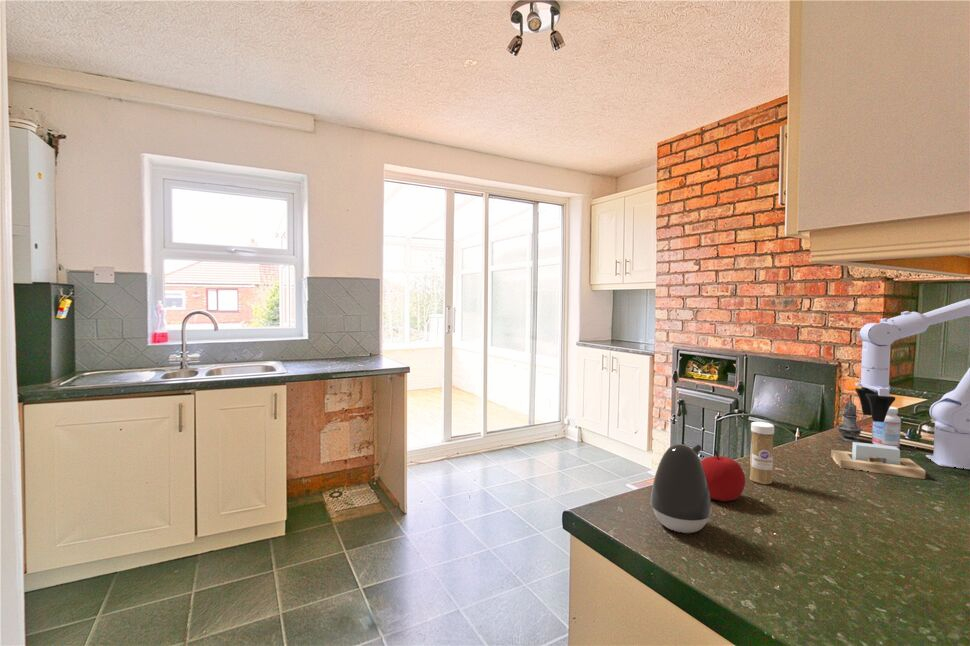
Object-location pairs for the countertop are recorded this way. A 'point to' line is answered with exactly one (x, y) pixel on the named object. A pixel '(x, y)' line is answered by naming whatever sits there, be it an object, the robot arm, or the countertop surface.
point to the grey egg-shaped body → (681, 490)
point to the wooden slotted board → (878, 465)
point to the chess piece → (849, 424)
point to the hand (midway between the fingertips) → (873, 418)
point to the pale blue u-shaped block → (876, 452)
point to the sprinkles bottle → (761, 452)
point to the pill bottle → (887, 429)
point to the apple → (723, 477)
